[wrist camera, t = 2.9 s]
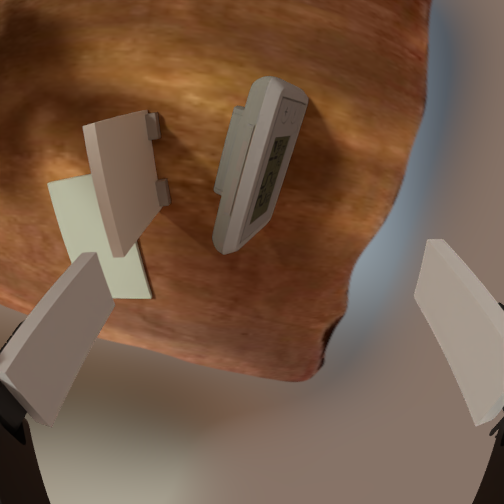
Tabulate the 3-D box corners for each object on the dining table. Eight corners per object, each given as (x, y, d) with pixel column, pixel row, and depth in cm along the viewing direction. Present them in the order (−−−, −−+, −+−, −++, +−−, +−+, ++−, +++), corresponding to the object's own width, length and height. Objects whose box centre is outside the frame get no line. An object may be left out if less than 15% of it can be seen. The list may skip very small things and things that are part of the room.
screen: (128, 113, 30) (71, 129, 20) (157, 107, 30) (107, 119, 20) (144, 208, 36) (102, 258, 26) (171, 206, 36) (136, 256, 26)
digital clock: (263, 226, 37) (262, 276, 28) (194, 194, 35) (170, 235, 26) (332, 107, 30) (361, 115, 20) (257, 68, 28) (253, 57, 19)
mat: (49, 182, 35) (47, 183, 34) (120, 168, 34) (118, 169, 33) (86, 295, 44) (85, 297, 43) (152, 296, 43) (151, 298, 43)
